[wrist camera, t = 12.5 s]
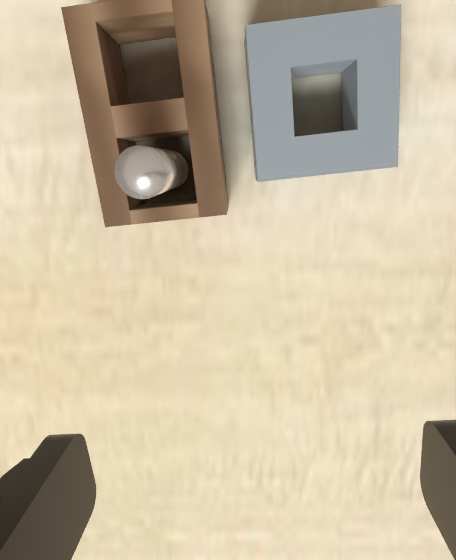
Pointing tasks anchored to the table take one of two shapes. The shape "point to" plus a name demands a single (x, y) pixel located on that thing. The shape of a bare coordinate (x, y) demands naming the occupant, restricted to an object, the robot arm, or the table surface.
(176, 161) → the steel rod
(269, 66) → the socket block
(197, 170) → the walnut rack
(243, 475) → the table surface
